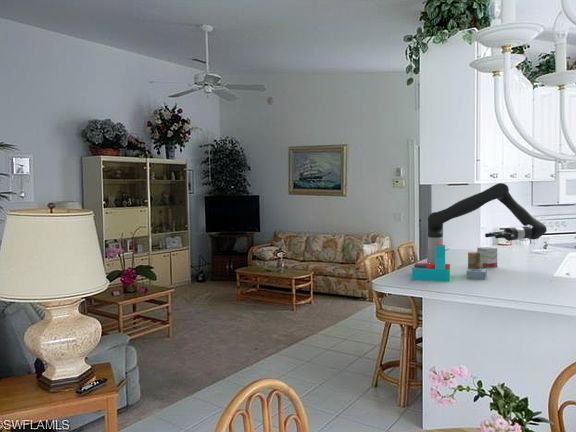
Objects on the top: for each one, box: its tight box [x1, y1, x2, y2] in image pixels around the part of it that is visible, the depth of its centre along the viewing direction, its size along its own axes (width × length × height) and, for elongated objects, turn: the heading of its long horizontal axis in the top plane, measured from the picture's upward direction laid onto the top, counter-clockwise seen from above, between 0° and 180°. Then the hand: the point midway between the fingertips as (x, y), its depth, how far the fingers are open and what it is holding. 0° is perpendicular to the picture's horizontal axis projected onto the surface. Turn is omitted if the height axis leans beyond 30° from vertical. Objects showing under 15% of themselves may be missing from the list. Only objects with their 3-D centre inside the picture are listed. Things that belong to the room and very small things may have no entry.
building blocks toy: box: [411, 244, 451, 283], centre depth 262 cm, size 19×25×18 cm
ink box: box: [476, 246, 498, 268], centre depth 291 cm, size 9×9×12 cm
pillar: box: [467, 251, 481, 270], centre depth 268 cm, size 4×4×12 cm
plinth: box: [466, 268, 488, 281], centre depth 256 cm, size 9×9×4 cm
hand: (490, 236), depth 270 cm, fingers open, 8 cm apart
